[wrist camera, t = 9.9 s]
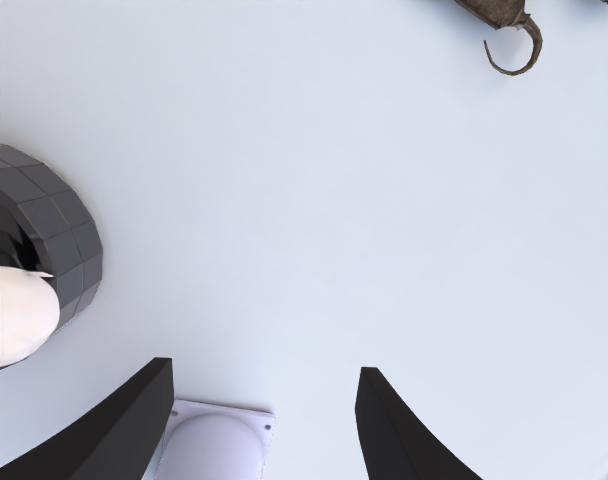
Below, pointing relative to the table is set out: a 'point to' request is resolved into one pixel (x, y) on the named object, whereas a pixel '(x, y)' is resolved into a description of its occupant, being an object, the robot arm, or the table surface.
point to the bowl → (51, 231)
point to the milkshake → (23, 303)
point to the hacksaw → (507, 23)
